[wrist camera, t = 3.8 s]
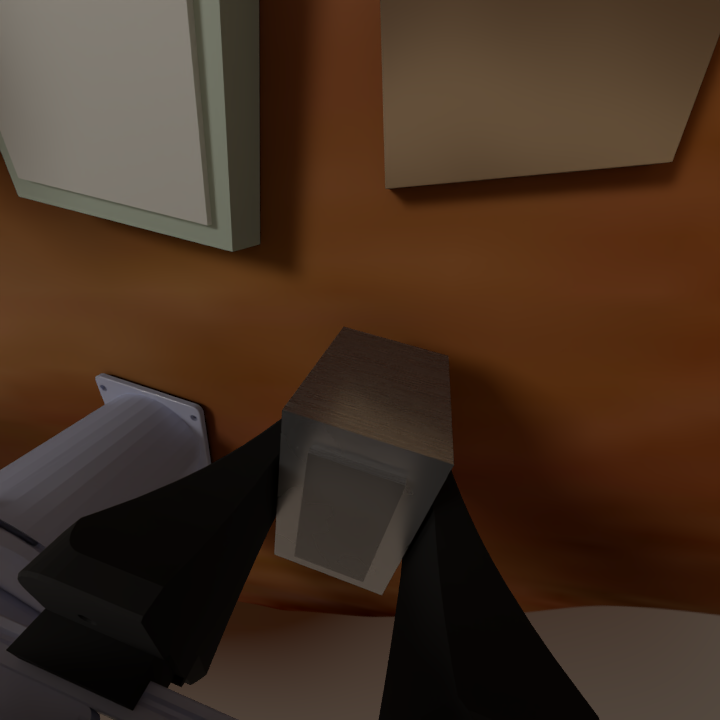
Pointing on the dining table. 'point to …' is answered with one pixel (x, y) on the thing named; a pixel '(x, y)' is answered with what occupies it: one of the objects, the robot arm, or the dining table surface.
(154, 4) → the grey green square tray
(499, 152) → the plate
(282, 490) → the block
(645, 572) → the dining table surface
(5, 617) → the robot arm
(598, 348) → the dining table surface
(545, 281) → the dining table surface
